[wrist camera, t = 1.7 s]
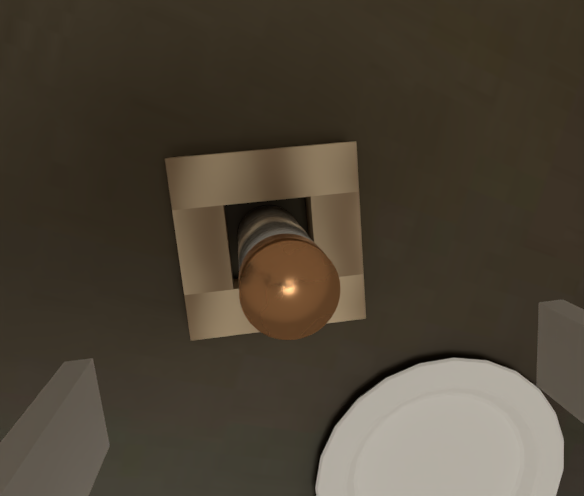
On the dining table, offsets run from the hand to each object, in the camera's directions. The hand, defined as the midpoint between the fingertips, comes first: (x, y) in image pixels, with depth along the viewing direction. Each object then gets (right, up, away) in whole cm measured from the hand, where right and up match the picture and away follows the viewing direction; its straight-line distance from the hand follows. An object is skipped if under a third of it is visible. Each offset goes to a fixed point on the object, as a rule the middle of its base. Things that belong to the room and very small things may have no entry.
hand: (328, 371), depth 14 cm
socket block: (-3, +4, +20) cm, 20 cm away
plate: (+11, -14, +26) cm, 32 cm away
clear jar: (-3, +4, +20) cm, 20 cm away
